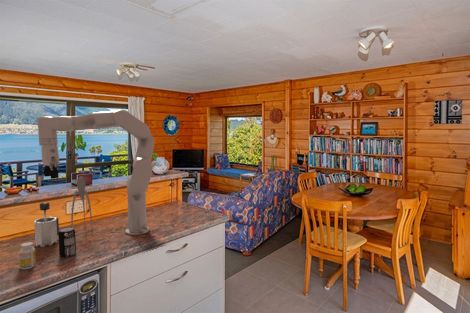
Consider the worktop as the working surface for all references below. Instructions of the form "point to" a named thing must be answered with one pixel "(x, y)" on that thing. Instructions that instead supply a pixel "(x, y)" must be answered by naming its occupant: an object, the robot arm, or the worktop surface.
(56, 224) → the press carafe
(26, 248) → the supplement bottle
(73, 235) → the beverage can
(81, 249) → the worktop surface
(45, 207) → the grey knobbed rod
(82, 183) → the juicer
